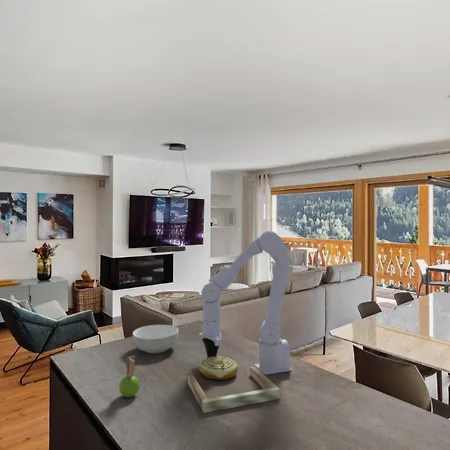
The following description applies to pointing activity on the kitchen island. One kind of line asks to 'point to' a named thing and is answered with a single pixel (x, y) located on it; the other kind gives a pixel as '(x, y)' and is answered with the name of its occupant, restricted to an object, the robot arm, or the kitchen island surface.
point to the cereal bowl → (155, 338)
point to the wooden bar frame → (239, 399)
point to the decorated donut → (218, 367)
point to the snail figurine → (129, 380)
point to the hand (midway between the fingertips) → (211, 360)
